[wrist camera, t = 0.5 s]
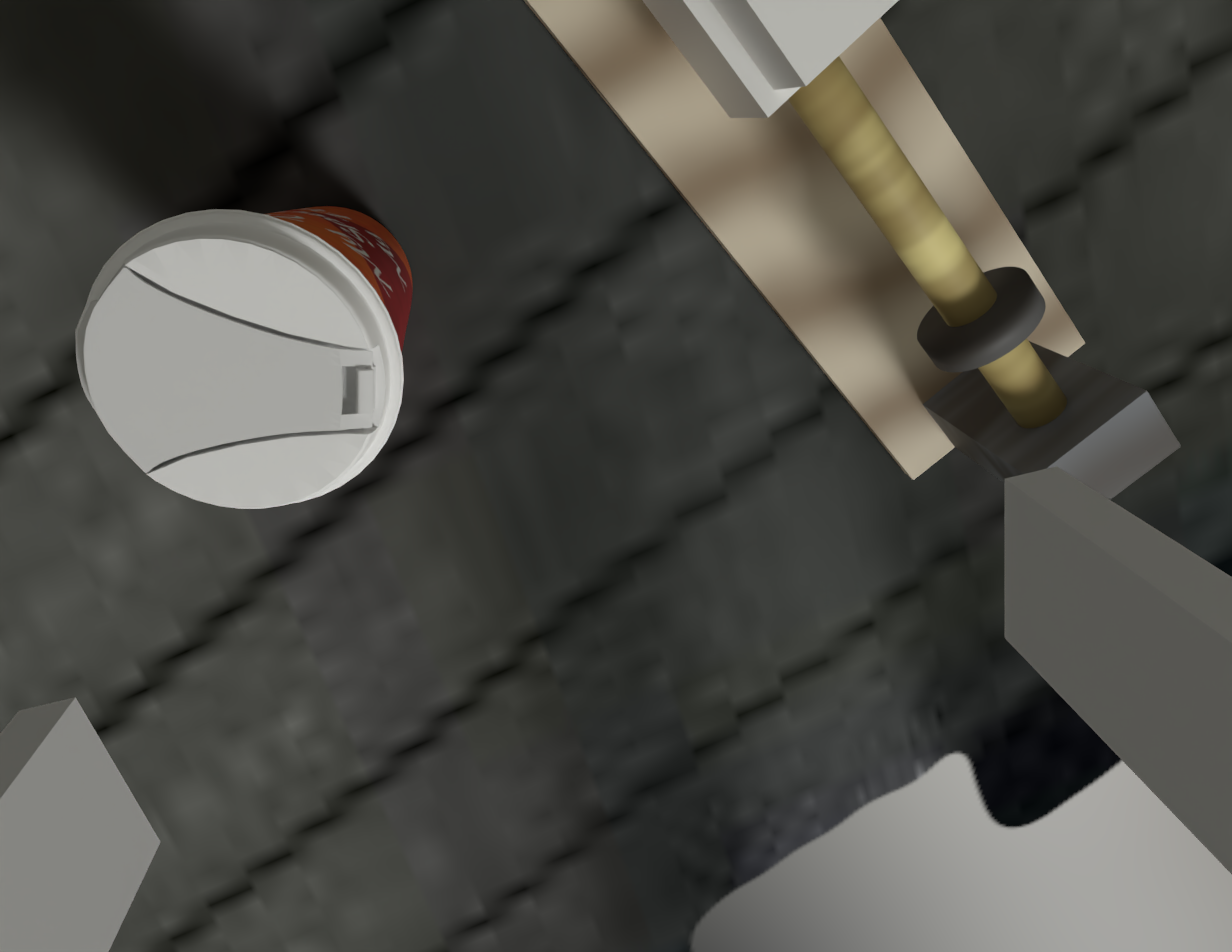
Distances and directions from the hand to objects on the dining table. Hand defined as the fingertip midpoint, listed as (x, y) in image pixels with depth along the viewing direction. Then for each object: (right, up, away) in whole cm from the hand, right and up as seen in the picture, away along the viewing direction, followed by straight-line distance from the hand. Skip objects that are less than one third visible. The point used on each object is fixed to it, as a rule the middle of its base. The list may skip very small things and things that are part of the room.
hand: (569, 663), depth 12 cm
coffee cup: (-11, +11, +23) cm, 28 cm away
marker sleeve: (+5, +19, +17) cm, 26 cm away
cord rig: (+8, +17, +23) cm, 30 cm away
